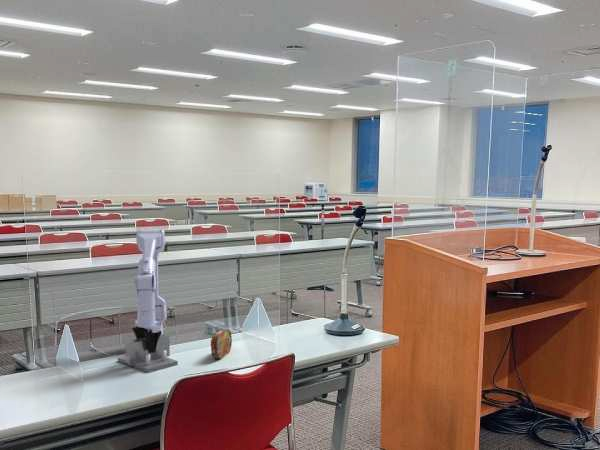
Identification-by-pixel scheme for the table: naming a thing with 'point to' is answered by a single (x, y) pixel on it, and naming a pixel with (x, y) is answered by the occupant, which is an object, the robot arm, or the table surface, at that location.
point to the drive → (145, 349)
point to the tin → (221, 344)
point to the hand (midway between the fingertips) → (147, 350)
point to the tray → (152, 363)
